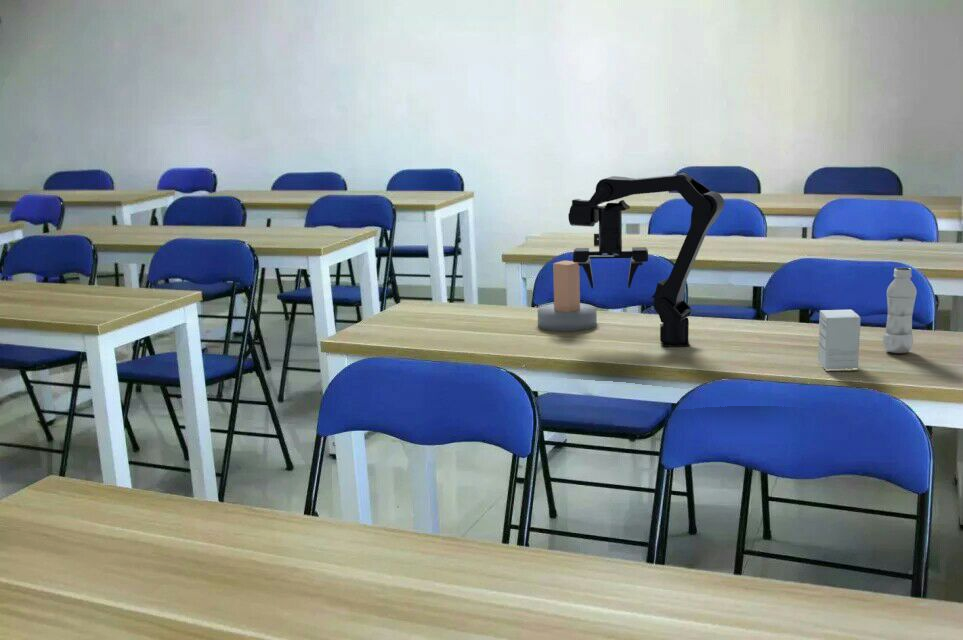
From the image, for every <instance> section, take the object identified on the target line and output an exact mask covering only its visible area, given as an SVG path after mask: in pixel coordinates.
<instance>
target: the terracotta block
mask: <svg viewBox="0 0 963 640" xmlns="http://www.w3.org/2000/svg"><path fill="white" fill-rule="evenodd" d="M552 268H553V272H552V273H553V275H552V276H553V304H554V310H556V311H562V312H568V313H569V312H572V311H575V310H579V309H580V303H581V289H580V287H581V286H580V283H581V281H580V280H581V279H580V269H581V268H580V266H579V265H578V262H573V260H560V261H557V262H553V264H552Z"/></svg>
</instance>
